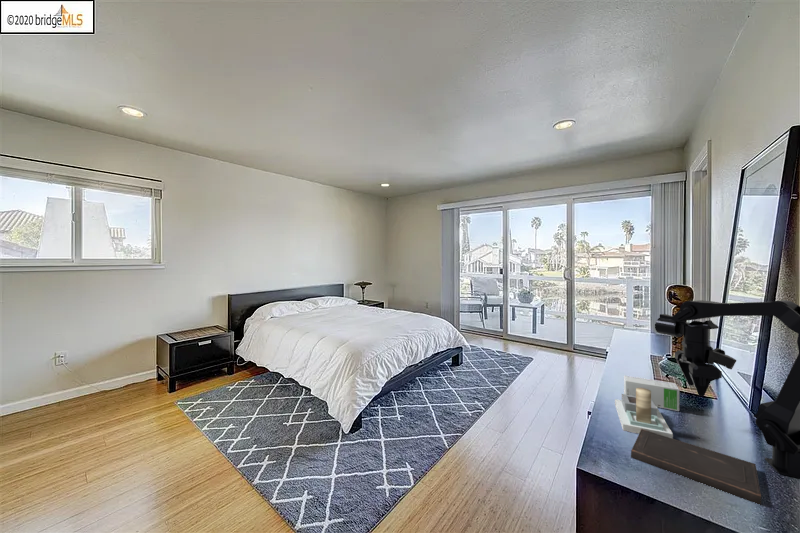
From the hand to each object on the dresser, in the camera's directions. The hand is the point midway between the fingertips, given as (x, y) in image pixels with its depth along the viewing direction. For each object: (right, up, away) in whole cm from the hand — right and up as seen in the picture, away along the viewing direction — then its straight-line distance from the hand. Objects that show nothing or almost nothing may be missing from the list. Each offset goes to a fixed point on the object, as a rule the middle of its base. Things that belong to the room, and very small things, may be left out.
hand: (695, 390), depth 97 cm
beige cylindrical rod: (-15, -11, +2) cm, 18 cm away
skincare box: (+7, -8, +14) cm, 18 cm away
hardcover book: (-17, -14, -16) cm, 27 cm away
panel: (-13, -13, +6) cm, 19 cm away
